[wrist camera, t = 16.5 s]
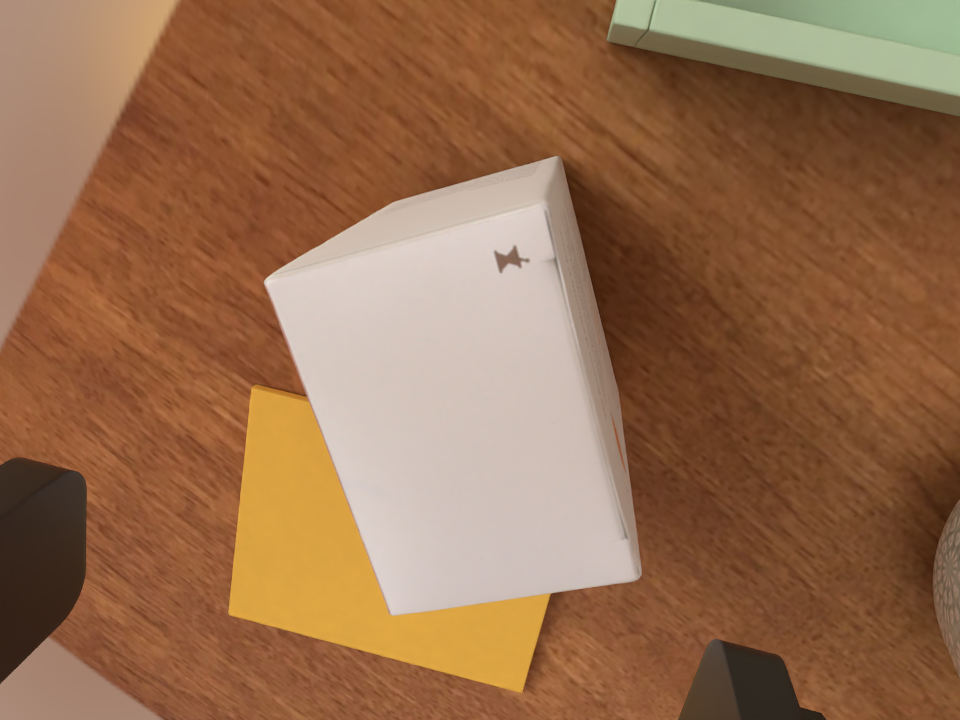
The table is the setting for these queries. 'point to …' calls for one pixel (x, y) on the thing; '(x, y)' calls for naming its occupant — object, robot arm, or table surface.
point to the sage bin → (812, 42)
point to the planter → (949, 585)
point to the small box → (467, 393)
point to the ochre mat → (348, 563)
